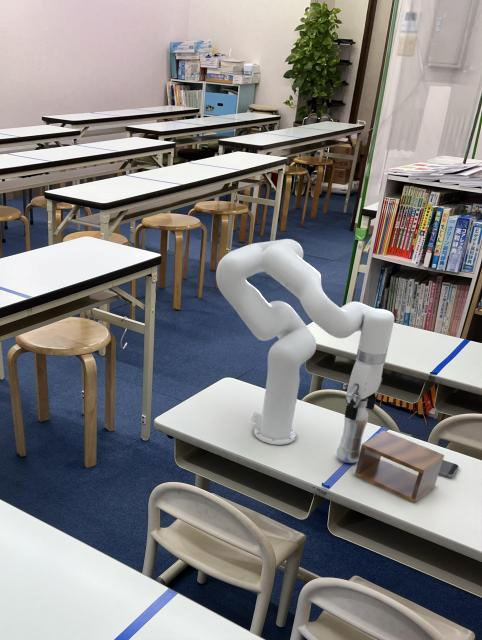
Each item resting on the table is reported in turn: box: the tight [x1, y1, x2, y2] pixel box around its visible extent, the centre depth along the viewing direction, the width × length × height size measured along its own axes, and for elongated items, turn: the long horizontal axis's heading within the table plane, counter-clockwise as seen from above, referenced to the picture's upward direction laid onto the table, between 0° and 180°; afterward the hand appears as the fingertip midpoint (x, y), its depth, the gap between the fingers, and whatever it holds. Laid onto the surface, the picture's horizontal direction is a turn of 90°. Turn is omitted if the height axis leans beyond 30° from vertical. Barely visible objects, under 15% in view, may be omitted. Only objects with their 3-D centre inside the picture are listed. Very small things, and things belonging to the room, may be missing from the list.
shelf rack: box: [354, 430, 445, 504], centre depth 191 cm, size 18×12×10 cm, turn 44°
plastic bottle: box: [336, 398, 370, 464], centre depth 198 cm, size 6×7×20 cm
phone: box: [438, 459, 459, 479], centre depth 202 cm, size 8×1×16 cm
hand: (359, 413), depth 195 cm, fingers open, 9 cm apart
